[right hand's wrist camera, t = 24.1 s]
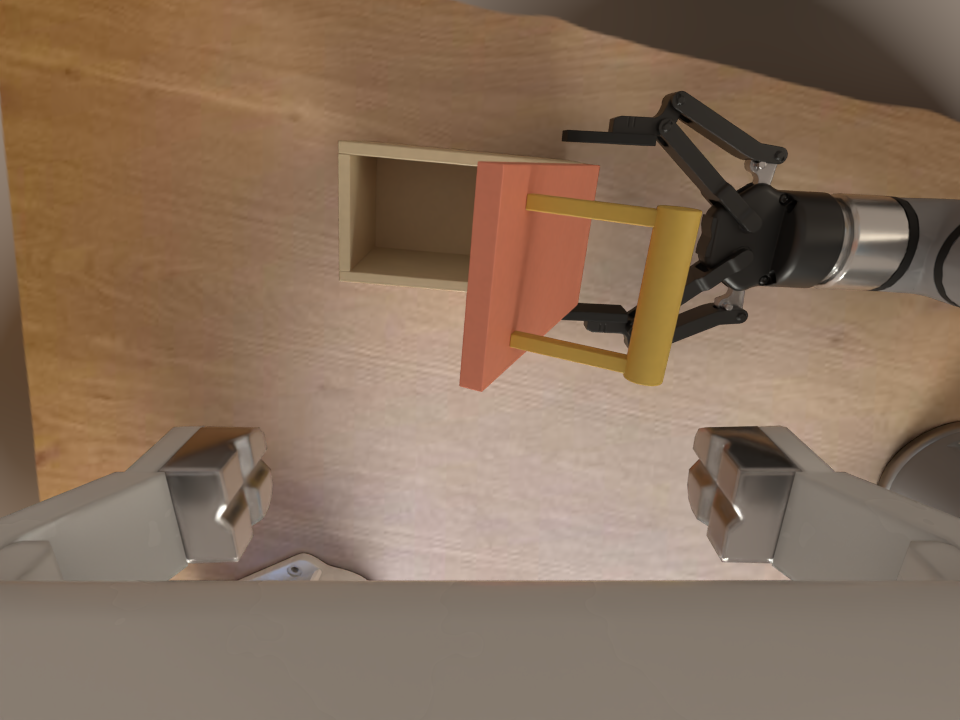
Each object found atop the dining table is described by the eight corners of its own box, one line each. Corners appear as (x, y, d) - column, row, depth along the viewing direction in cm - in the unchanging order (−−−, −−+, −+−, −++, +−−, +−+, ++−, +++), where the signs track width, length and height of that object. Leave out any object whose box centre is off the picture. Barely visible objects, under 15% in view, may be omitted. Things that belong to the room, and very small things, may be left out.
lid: (458, 386, 24) (647, 436, 22) (477, 161, 21) (705, 185, 18) (562, 302, 40) (681, 325, 37) (583, 163, 36) (716, 177, 33)
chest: (368, 252, 50) (338, 281, 40) (369, 141, 46) (337, 140, 36) (550, 269, 50) (568, 301, 40) (565, 159, 47) (590, 164, 37)
